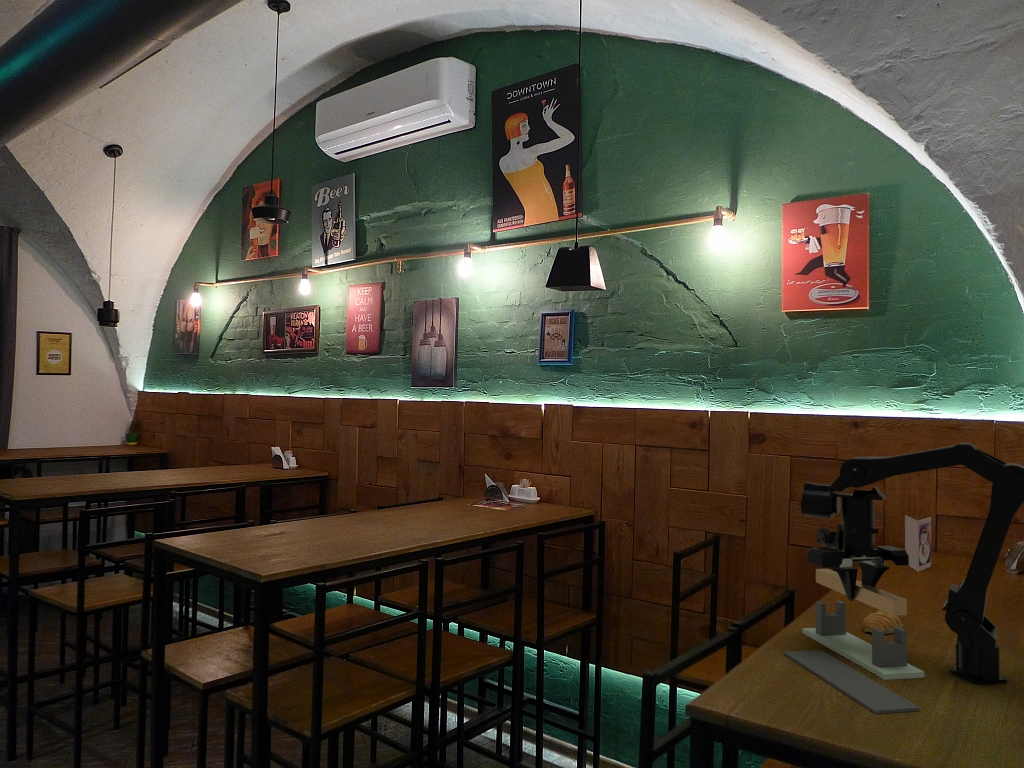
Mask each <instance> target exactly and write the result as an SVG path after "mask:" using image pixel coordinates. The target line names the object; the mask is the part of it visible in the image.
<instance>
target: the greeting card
mask: <svg viewBox="0 0 1024 768" xmlns="http://www.w3.org/2000/svg"><path fill="white" fill-rule="evenodd" d="M904 524H905V525H904V530H905V531H904V535H905V536H904V540H905V541H904V545H905V546H904V550H906V552H907V554H908V555H909V566H908V567H910V568H911V569H912V568H913V570H914V571H915V570H916V571H915V572H916V573H919V572H921V571H923V570H926V569H928V568H931V566H932V517H931V516H929V517H925V518H922V519H919V520H917V519H915V518H912V517H911V516H909V515H907V514H905V517H904Z"/></svg>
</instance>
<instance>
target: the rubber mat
mask: <svg viewBox="0 0 1024 768" xmlns="http://www.w3.org/2000/svg"><path fill="white" fill-rule="evenodd" d="M783 656H786V657H787V658H789V659H790V660H791V661H793V662H795V663H796V662H797V663H796V664H798V665H799V664H800V665H799V666H801V665H802V666H803V668H804V667H805V668H806V669H805V668H804V669H805V670H807V669H808V670H807V671H808V672H810V671H811V672H810V673H812V674H813V673H814V674H813V675H815V676H816V675H817V676H816V677H818V678H819V677H820V678H819V679H821V680H822V679H823V680H822V681H823V682H825V681H826V683H827V684H828V683H829V685H830V686H831V687H833V688H835V689H836V690H837V691H840V693H842V694H844V695H845V696H847V697H849V698H850V699H852V700H853V701H855V702H856V703H858V704H859V705H861V706H862V707H864V708H865V709H867V710H868V711H870V712H872V713H873V714H876V715H877V714H879V715H880V714H891V713H892V714H893V713H895V714H896V713H905V712H907V713H909V712H920V711H921V707H920V706H918V705H917V704H915V703H913V702H911V701H910V700H908V699H906V698H905V697H902V696H901V695H900V694H897V693H895V692H894V691H892V690H890V689H889V688H887V687H886V686H883V685H882V684H881V683H878V682H877V681H875V680H873V679H872V678H870V677H869V676H867V675H865V674H863V673H862V672H860V671H858V670H857V669H854V668H853V667H851V666H850V665H848V664H846V663H844V662H842V661H841V660H839V659H838V658H836V657H834V656H833V655H831V654H829V653H827V652H825V651H824V650H822V649H816V650H815V649H814V650H813V649H811V650H793V651H783ZM802 666H801V667H802Z"/></svg>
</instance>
